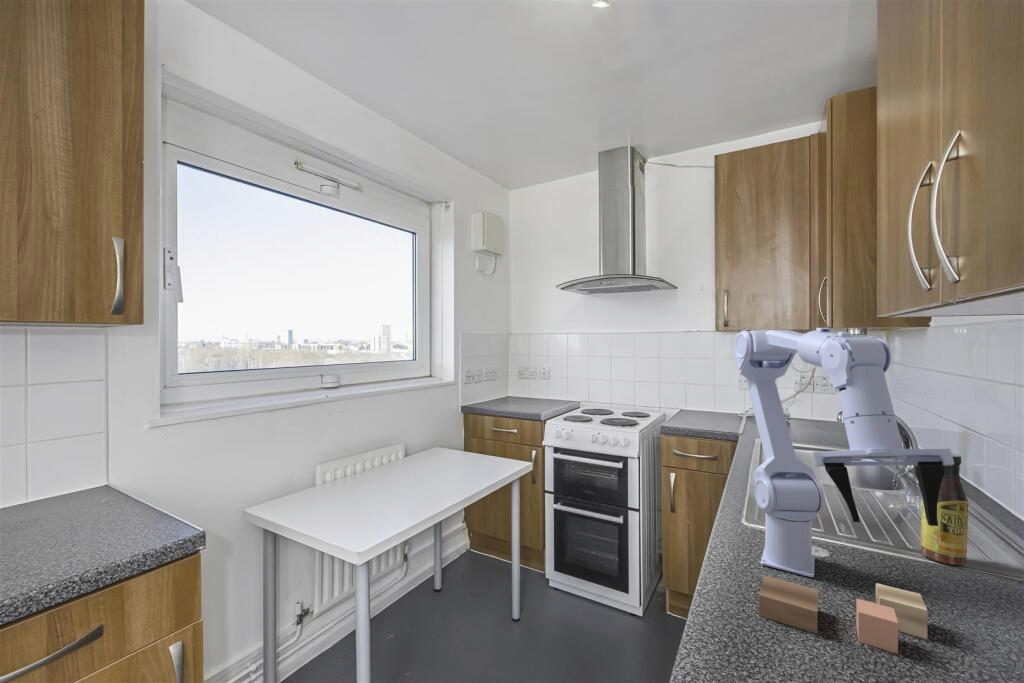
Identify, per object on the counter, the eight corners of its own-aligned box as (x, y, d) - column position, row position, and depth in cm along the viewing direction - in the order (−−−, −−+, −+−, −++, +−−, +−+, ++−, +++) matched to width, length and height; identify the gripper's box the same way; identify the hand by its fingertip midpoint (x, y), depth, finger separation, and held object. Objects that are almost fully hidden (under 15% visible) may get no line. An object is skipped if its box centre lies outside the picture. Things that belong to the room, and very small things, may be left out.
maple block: (875, 609, 67) (875, 582, 67) (920, 621, 64) (920, 594, 64) (879, 626, 63) (879, 597, 63) (927, 640, 60) (927, 610, 60)
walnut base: (763, 594, 70) (764, 575, 70) (817, 609, 66) (817, 589, 66) (759, 615, 64) (759, 594, 64) (817, 634, 60) (817, 611, 60)
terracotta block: (856, 627, 62) (856, 598, 62) (893, 638, 60) (893, 608, 60) (858, 642, 59) (858, 612, 59) (897, 654, 57) (898, 623, 57)
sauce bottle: (944, 567, 80) (944, 457, 80) (911, 551, 86) (911, 449, 87) (978, 567, 80) (978, 457, 81) (943, 551, 87) (943, 450, 87)
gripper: (805, 417, 63) (824, 521, 58) (944, 409, 55) (979, 528, 50) (808, 425, 68) (826, 520, 64) (935, 418, 60) (965, 526, 56)
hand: (893, 523), depth 57 cm, fingers open, 7 cm apart
